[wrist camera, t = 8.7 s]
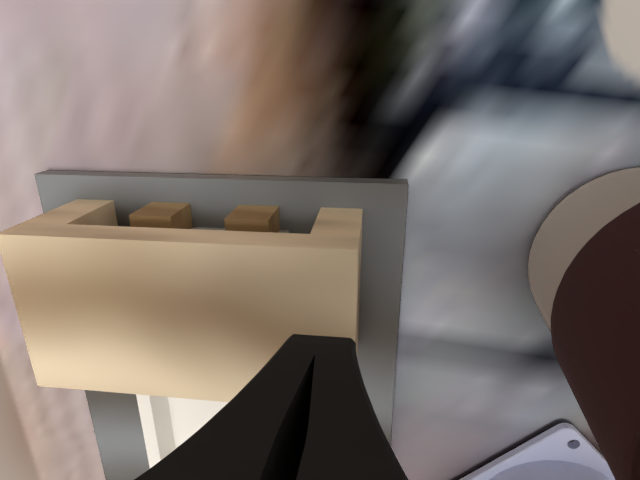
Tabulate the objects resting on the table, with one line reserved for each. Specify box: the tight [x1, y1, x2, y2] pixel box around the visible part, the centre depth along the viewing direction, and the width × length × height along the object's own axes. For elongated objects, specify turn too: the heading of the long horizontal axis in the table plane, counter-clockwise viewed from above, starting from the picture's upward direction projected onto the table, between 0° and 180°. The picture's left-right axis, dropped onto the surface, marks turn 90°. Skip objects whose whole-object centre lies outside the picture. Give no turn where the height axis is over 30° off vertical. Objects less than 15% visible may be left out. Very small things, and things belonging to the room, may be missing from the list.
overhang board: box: [0, 170, 408, 480], centre depth 20 cm, size 23×15×5 cm, turn 0°
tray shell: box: [136, 227, 290, 468], centre depth 19 cm, size 12×6×2 cm, turn 0°
